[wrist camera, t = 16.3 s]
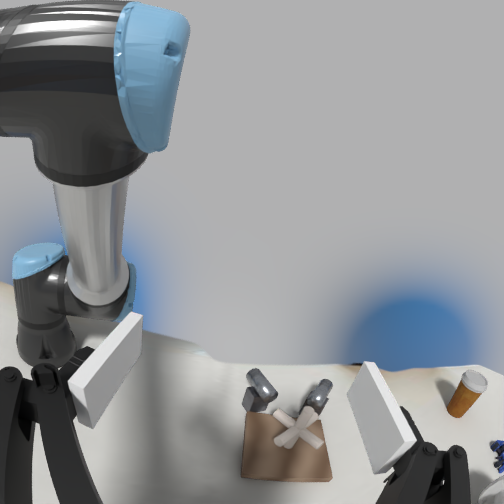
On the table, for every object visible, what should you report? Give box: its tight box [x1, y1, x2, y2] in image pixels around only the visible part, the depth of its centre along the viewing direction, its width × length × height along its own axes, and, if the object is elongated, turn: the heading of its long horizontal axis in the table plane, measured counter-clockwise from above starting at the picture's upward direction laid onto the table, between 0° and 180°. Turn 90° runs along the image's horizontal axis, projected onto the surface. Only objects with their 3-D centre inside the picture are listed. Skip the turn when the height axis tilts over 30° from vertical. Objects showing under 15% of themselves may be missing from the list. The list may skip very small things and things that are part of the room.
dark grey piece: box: [299, 379, 333, 416], centre depth 48 cm, size 7×4×8 cm, turn 148°
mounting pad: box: [241, 411, 333, 482], centre depth 39 cm, size 15×15×2 cm
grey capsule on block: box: [242, 368, 278, 412], centre depth 48 cm, size 7×4×8 cm, turn 28°
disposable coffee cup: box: [447, 370, 488, 418], centre depth 48 cm, size 10×10×12 cm
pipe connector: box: [273, 406, 324, 449], centre depth 37 cm, size 10×10×10 cm
